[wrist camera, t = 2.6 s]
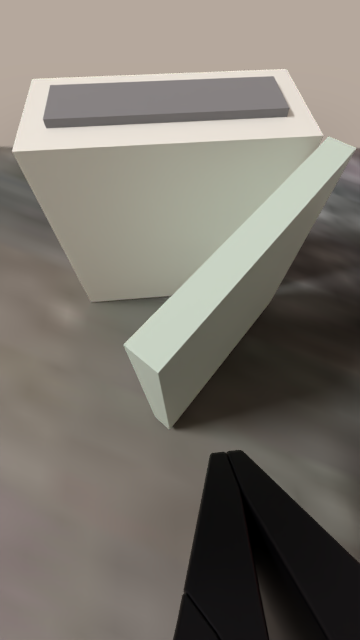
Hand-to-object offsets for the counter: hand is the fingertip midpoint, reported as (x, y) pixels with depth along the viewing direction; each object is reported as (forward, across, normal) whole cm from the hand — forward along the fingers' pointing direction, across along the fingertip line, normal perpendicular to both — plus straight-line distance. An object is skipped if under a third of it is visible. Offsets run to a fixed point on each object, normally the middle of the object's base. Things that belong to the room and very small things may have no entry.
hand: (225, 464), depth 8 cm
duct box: (+14, 0, -4) cm, 15 cm away
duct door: (+9, -2, +1) cm, 9 cm away
